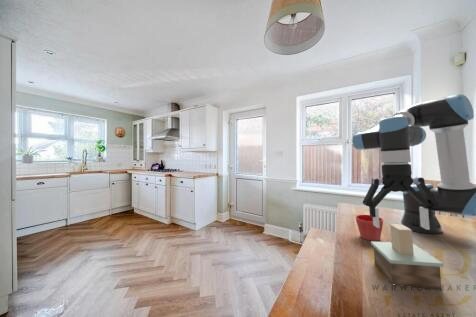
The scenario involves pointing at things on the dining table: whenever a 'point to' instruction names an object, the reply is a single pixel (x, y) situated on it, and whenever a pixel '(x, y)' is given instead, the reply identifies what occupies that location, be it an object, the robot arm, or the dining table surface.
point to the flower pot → (369, 227)
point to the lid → (404, 249)
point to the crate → (409, 273)
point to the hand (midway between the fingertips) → (400, 227)
